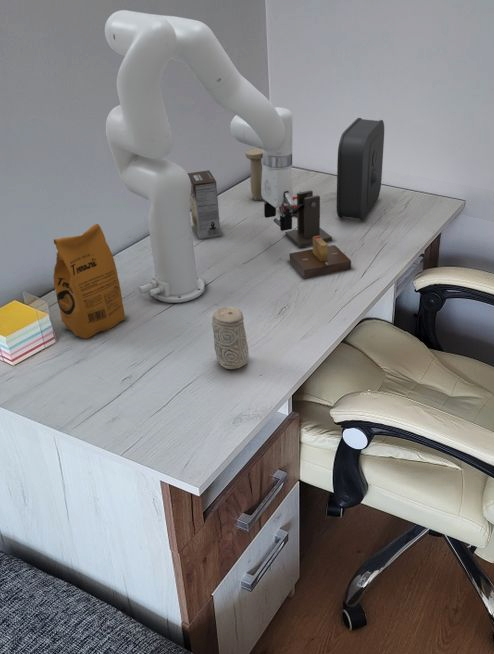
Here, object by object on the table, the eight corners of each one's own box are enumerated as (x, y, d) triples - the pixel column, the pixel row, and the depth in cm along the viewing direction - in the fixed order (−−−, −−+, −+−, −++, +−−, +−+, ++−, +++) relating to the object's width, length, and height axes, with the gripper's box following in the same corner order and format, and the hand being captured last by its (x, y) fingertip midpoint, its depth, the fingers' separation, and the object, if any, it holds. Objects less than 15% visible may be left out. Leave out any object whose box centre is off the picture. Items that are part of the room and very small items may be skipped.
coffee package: (57, 326, 147) (34, 235, 134) (106, 305, 155) (88, 216, 142) (82, 343, 141) (60, 249, 129) (131, 320, 149) (115, 230, 137)
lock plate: (304, 278, 166) (304, 269, 164) (289, 261, 173) (289, 252, 172) (350, 269, 170) (351, 260, 169) (334, 253, 178) (334, 244, 176)
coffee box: (192, 226, 191) (186, 172, 182) (214, 223, 193) (209, 169, 184) (199, 239, 184) (193, 183, 175) (221, 236, 186) (217, 180, 177)
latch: (283, 231, 177) (279, 224, 176) (275, 224, 181) (271, 218, 179) (318, 204, 178) (314, 197, 177) (309, 198, 182) (306, 191, 180)
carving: (231, 349, 140) (227, 300, 133) (256, 363, 136) (253, 313, 129) (208, 362, 136) (203, 312, 129) (233, 377, 132) (229, 326, 125)
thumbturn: (327, 260, 169) (327, 243, 166) (321, 261, 168) (321, 244, 165) (318, 251, 173) (319, 234, 170) (312, 252, 172) (312, 236, 170)
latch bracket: (300, 248, 180) (299, 203, 173) (285, 235, 187) (284, 192, 179) (332, 240, 184) (332, 196, 177) (316, 228, 191) (316, 186, 183)
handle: (270, 197, 210) (268, 150, 201) (256, 203, 205) (254, 155, 197) (258, 194, 212) (256, 147, 204) (245, 200, 208) (242, 152, 199)
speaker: (358, 193, 214) (362, 113, 199) (384, 196, 211) (390, 116, 197) (336, 223, 194) (337, 137, 180) (364, 227, 192) (368, 140, 178)
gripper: (250, 152, 173) (251, 214, 182) (279, 171, 160) (279, 237, 170) (276, 148, 176) (276, 209, 186) (306, 167, 164) (305, 232, 173)
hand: (278, 223), depth 178 cm, fingers open, 9 cm apart
